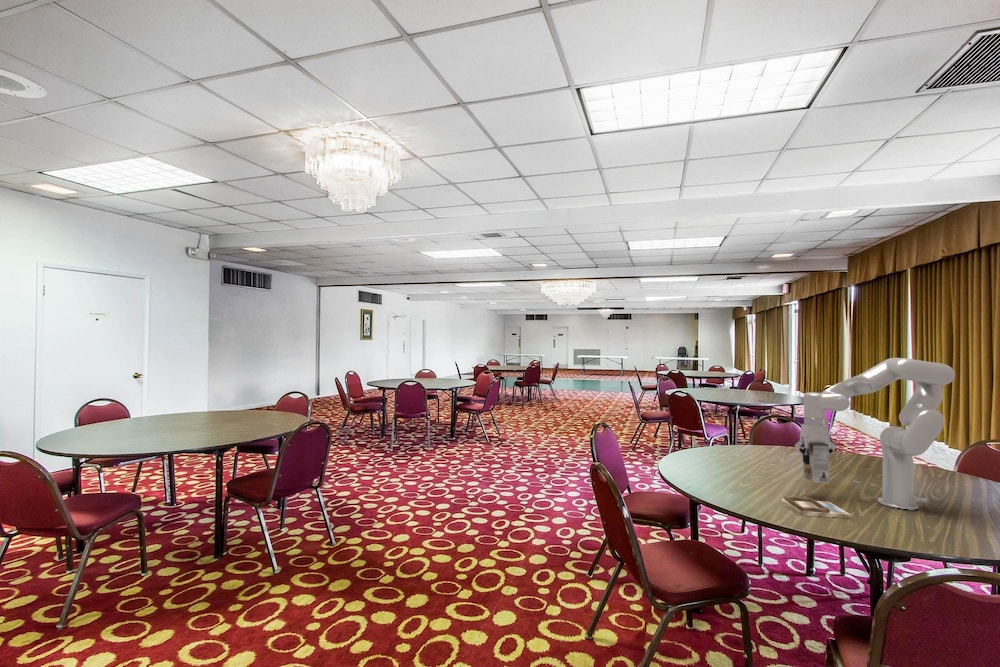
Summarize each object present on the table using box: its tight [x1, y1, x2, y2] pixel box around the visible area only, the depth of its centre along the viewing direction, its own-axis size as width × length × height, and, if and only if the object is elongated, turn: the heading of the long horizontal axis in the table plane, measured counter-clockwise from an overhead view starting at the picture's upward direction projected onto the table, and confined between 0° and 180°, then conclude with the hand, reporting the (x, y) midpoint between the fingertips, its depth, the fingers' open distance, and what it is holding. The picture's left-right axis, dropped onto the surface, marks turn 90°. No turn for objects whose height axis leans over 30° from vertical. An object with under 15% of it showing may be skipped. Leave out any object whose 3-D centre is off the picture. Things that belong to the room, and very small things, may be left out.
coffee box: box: [802, 443, 830, 484], centre depth 192 cm, size 9×6×16 cm
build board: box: [780, 496, 852, 519], centre depth 177 cm, size 18×14×3 cm
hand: (815, 463), depth 192 cm, fingers closed on coffee box, 6 cm apart
